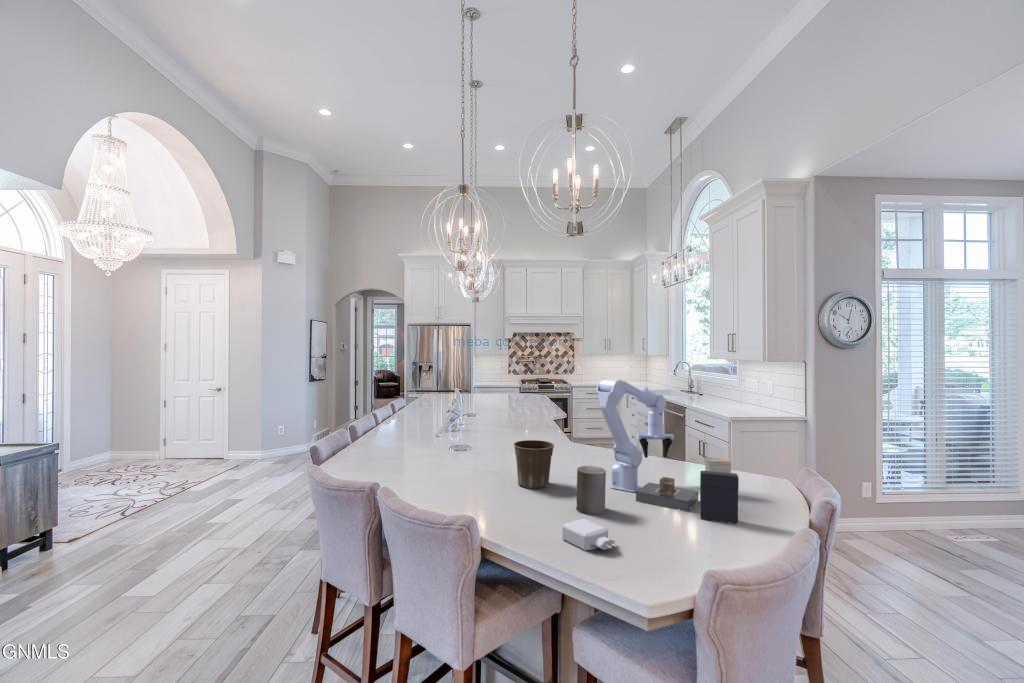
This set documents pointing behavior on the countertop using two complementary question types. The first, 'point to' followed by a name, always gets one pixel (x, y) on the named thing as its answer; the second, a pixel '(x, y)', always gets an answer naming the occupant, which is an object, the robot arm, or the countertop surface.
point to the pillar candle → (591, 490)
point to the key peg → (667, 485)
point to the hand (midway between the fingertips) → (655, 457)
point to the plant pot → (533, 463)
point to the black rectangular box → (719, 496)
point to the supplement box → (718, 465)
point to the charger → (587, 535)
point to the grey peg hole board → (667, 497)
